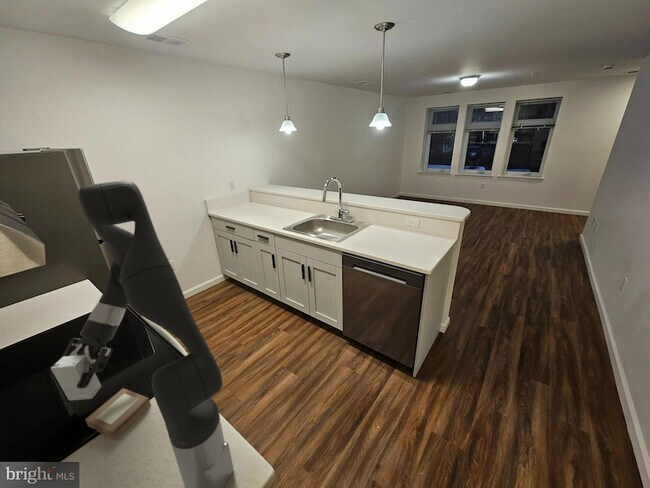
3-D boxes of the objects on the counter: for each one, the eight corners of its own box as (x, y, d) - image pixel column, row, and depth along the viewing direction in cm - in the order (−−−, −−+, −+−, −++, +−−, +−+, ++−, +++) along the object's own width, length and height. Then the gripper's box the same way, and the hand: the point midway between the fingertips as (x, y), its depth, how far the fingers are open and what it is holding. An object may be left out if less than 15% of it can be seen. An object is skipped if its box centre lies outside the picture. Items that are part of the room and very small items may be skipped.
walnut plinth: (150, 405, 76) (148, 397, 75) (115, 440, 68) (112, 431, 67) (125, 395, 79) (122, 387, 78) (88, 427, 71) (85, 419, 69)
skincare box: (102, 386, 76) (88, 353, 72) (91, 400, 72) (75, 366, 68) (79, 388, 76) (63, 354, 71) (66, 402, 72) (49, 368, 67)
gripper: (73, 314, 76) (37, 377, 69) (109, 324, 71) (74, 392, 65) (99, 318, 82) (68, 376, 76) (133, 328, 78) (103, 390, 72)
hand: (71, 383), depth 71 cm, fingers closed on skincare box, 7 cm apart
